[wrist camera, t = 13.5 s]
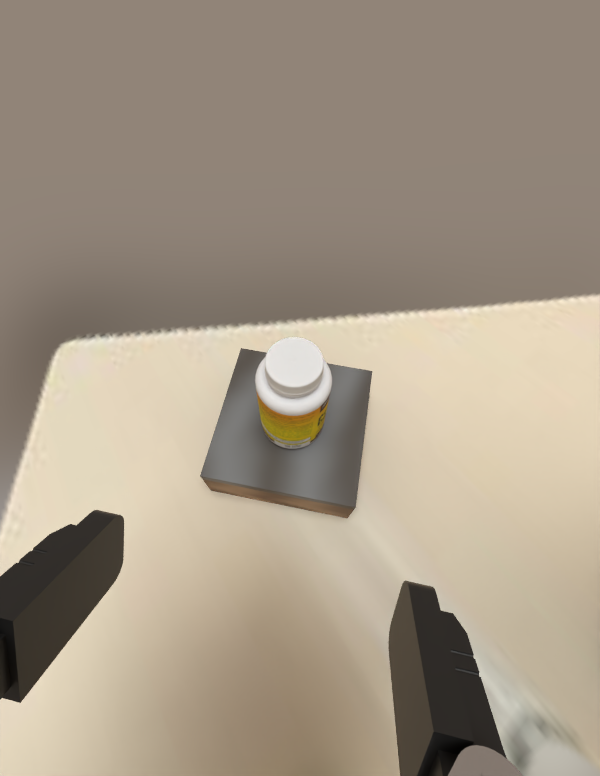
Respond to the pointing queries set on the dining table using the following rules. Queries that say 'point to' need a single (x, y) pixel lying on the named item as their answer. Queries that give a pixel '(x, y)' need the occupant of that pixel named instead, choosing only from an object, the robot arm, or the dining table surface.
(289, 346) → the supplement bottle
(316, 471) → the block
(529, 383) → the dining table surface
